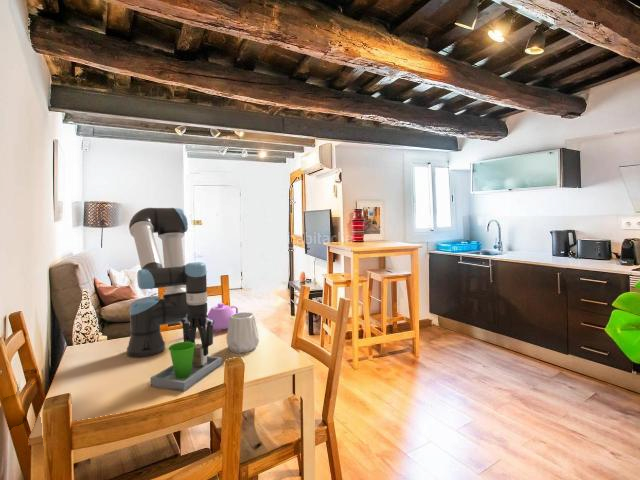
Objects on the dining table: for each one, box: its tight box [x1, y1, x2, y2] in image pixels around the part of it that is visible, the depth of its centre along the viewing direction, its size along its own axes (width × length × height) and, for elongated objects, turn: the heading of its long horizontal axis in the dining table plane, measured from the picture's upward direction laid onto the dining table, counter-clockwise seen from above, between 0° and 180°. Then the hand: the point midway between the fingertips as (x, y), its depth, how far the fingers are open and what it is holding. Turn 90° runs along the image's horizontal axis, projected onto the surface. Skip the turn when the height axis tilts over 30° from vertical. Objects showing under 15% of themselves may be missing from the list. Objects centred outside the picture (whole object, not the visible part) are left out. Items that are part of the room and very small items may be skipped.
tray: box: [150, 355, 223, 392], centre depth 126 cm, size 14×22×3 cm, turn 163°
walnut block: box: [192, 343, 202, 366], centre depth 132 cm, size 4×4×7 cm
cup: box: [168, 341, 196, 379], centre depth 123 cm, size 9×9×11 cm
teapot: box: [207, 302, 239, 334], centre depth 180 cm, size 22×16×14 cm
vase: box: [226, 312, 260, 354], centre depth 152 cm, size 14×14×15 cm
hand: (198, 362), depth 132 cm, fingers closed on walnut block, 4 cm apart
